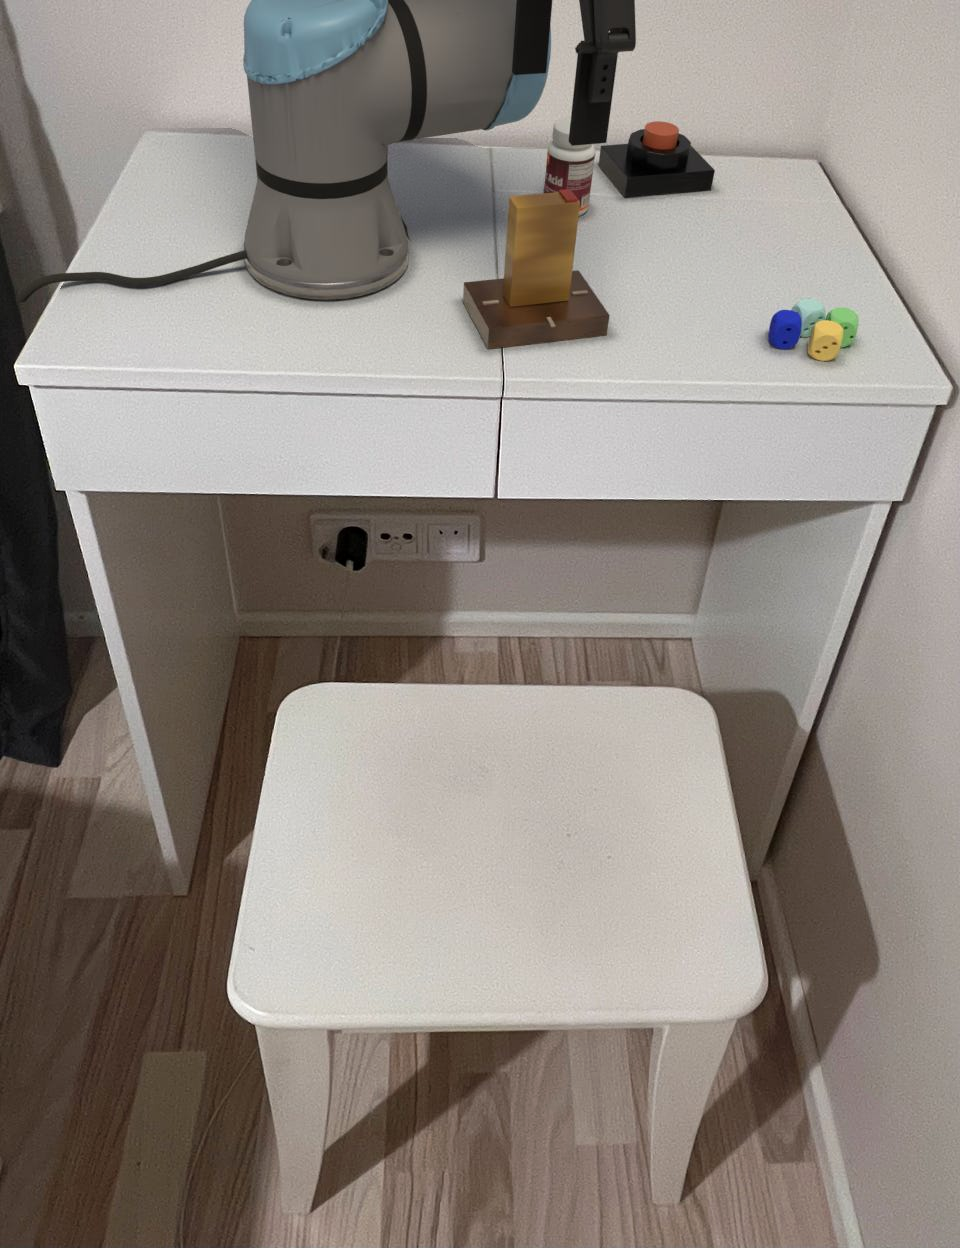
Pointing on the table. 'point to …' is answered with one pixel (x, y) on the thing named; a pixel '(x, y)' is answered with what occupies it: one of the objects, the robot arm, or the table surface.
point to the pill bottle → (569, 165)
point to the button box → (655, 168)
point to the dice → (814, 328)
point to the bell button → (660, 135)
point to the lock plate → (534, 315)
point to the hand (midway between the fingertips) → (556, 106)
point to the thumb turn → (540, 247)
